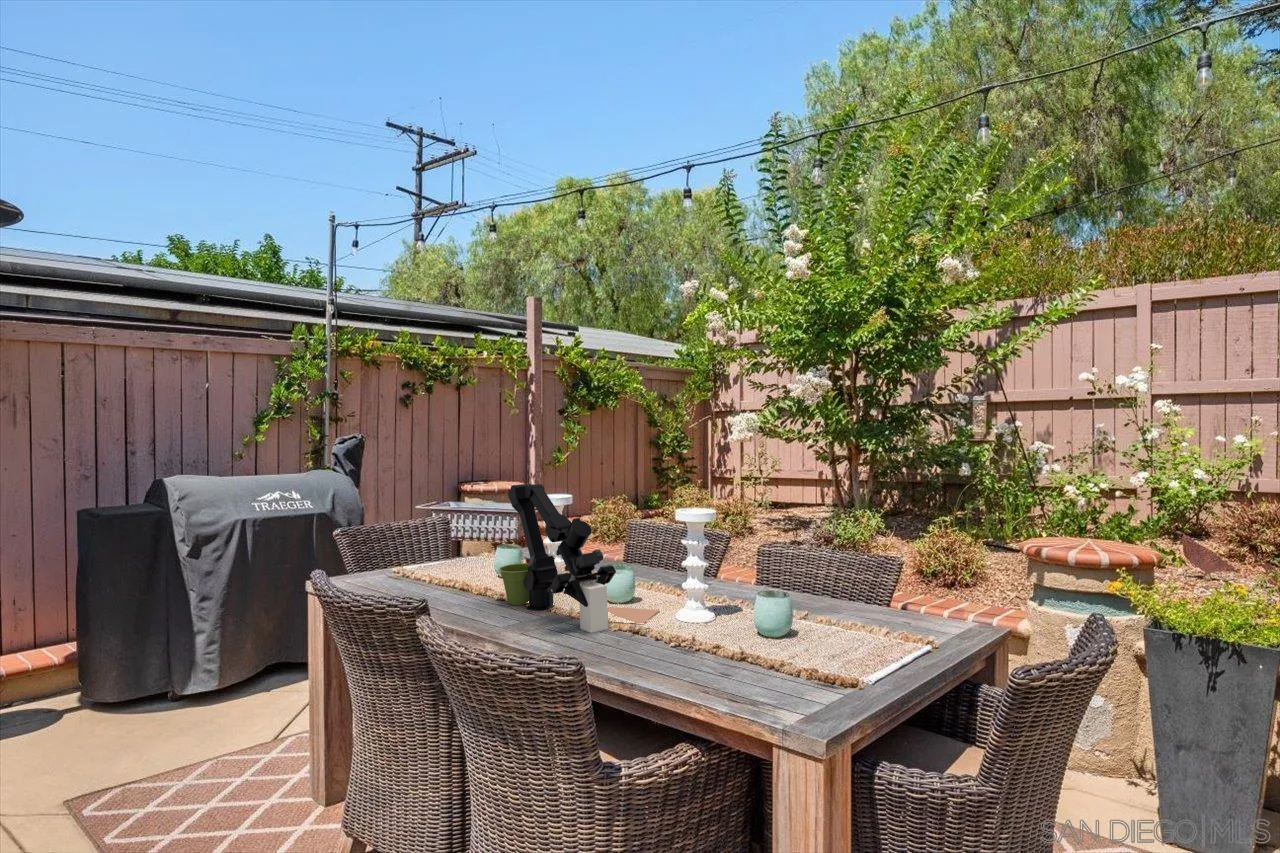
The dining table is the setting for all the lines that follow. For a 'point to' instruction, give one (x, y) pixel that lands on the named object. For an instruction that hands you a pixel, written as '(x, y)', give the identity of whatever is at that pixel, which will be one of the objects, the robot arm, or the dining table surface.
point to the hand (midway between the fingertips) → (596, 604)
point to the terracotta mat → (633, 613)
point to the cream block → (594, 608)
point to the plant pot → (515, 583)
